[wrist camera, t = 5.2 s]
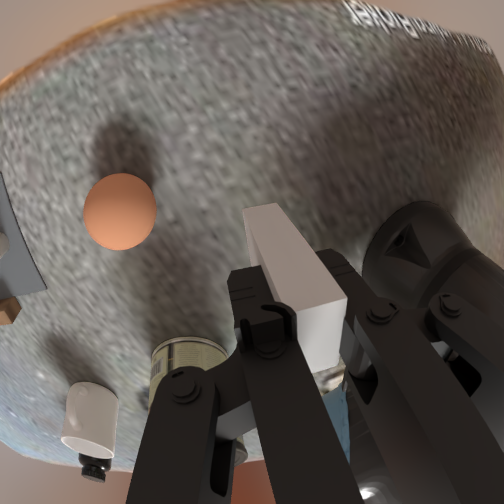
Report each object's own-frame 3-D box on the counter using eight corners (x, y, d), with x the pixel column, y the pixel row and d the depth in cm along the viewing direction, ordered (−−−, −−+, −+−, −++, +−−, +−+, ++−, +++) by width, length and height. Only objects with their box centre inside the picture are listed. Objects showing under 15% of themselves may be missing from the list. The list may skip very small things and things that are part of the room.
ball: (152, 158, 21) (136, 174, 16) (168, 222, 24) (160, 255, 19) (90, 177, 20) (60, 198, 15) (109, 237, 23) (89, 271, 18)
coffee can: (223, 385, 37) (237, 472, 25) (152, 380, 34) (150, 470, 22) (236, 337, 32) (259, 443, 20) (150, 331, 30) (141, 441, 18)
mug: (56, 362, 30) (38, 419, 21) (103, 367, 32) (92, 430, 23) (83, 404, 36) (74, 453, 27) (125, 409, 37) (121, 461, 28)
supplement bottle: (109, 426, 40) (105, 478, 30) (116, 438, 43) (114, 486, 33) (78, 420, 39) (71, 470, 28) (88, 433, 42) (83, 479, 31)
